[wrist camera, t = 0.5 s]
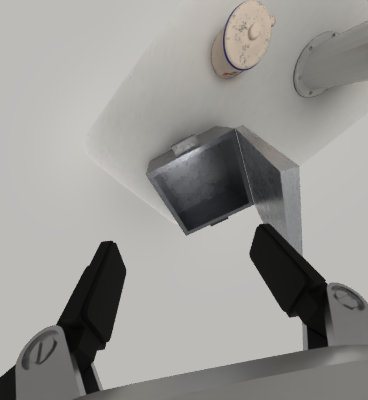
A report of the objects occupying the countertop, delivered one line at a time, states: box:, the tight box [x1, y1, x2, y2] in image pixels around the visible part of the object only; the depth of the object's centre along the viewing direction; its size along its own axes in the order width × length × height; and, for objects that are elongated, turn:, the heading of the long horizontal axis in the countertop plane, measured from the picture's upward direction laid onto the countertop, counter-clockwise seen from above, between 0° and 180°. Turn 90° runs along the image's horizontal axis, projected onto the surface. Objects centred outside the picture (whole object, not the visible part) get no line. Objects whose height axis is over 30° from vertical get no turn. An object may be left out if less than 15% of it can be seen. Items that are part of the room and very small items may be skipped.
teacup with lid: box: [211, 0, 276, 78], centre depth 29 cm, size 12×9×12 cm
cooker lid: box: [235, 125, 303, 257], centre depth 27 cm, size 22×22×4 cm
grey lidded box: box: [146, 126, 254, 235], centre depth 43 cm, size 22×27×12 cm
